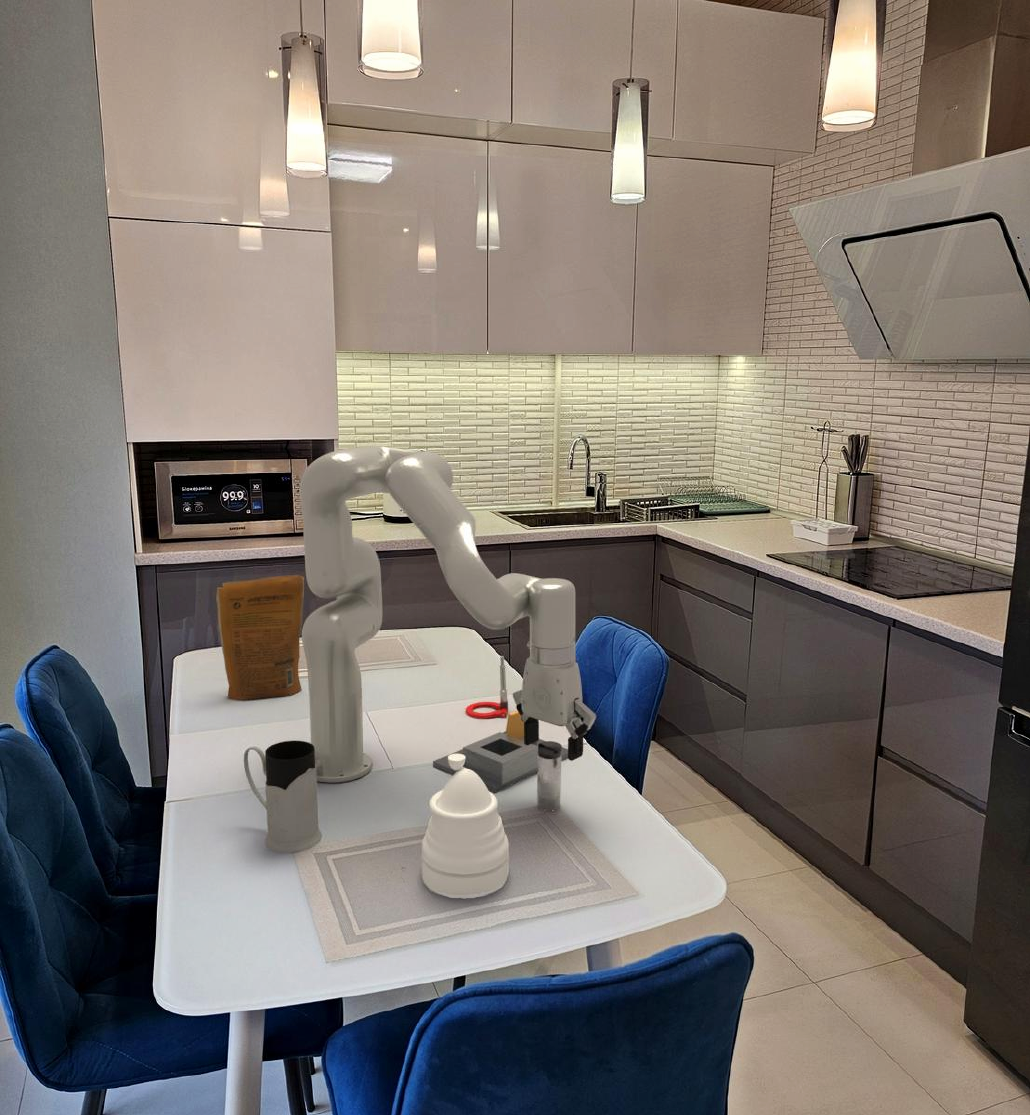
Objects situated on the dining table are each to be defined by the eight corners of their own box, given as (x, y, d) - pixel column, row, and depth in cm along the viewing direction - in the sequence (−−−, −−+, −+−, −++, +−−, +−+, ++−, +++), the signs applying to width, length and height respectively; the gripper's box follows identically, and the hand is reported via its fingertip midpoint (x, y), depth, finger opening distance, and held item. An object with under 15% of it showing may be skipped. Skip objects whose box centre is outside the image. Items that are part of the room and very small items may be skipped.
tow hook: (463, 720, 194) (506, 720, 194) (461, 663, 192) (504, 662, 191) (467, 706, 202) (509, 706, 202) (465, 651, 200) (507, 650, 199)
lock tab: (505, 750, 176) (510, 716, 173) (501, 747, 176) (507, 713, 174) (531, 738, 181) (536, 705, 179) (527, 736, 182) (533, 703, 179)
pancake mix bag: (310, 696, 206) (305, 576, 200) (222, 706, 200) (215, 582, 194) (306, 687, 212) (302, 570, 206) (221, 695, 206) (214, 575, 200)
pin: (549, 813, 153) (551, 753, 150) (532, 806, 155) (533, 746, 153) (564, 805, 156) (566, 746, 153) (547, 798, 158) (548, 739, 156)
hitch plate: (494, 793, 160) (494, 766, 159) (433, 766, 170) (432, 741, 169) (572, 755, 176) (573, 731, 175) (511, 733, 186) (512, 710, 185)
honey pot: (404, 873, 134) (402, 760, 130) (469, 843, 143) (469, 736, 139) (461, 910, 125) (461, 790, 122) (526, 875, 134) (528, 762, 130)
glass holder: (295, 858, 138) (291, 766, 135) (228, 834, 145) (223, 746, 142) (333, 833, 145) (330, 746, 142) (267, 812, 152) (263, 728, 149)
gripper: (499, 648, 153) (500, 743, 156) (579, 669, 141) (579, 771, 145) (528, 639, 158) (529, 731, 162) (608, 658, 147) (607, 757, 150)
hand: (553, 750), depth 153 cm, fingers open, 9 cm apart
